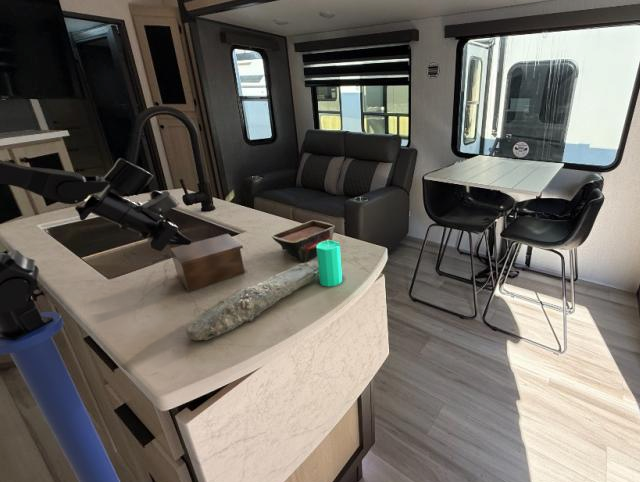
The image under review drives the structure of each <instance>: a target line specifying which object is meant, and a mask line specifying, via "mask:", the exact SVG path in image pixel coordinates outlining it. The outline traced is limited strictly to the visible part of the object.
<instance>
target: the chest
mask: <svg viewBox="0 0 640 482" xmlns="http://www.w3.org/2000/svg"><path fill="white" fill-rule="evenodd" d="M170 254H171V257H172V261H173V264H174V268H175V273H176V275H177V277H178V279H179V280H180V281H181V283H182V284H183V285H184V287H185V288H186V291H188V292H189V293H190V292H193V291H195V290H199V289H201V288H204V287H207V286H210V285H212V284H216V283H218V282H221V281H224V280H228V279H231V278H232V277H236V276H239V275H241V274H245V267H244V261H243V257H242V252H241V249H238V250H234V251H231V252H228V253H224V254H221V255H217V256H214V257H210V258H207V259H204V260H200V261H197V262H193V263H190V264H186V265H183V266H182V265H181V264H180V263H179V261H178V260H177V259H176V257H175V256H174V255H173V253H172V252H171V251H170Z"/></svg>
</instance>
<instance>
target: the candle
mask: <svg viewBox="0 0 640 482" xmlns="http://www.w3.org/2000/svg"><path fill="white" fill-rule="evenodd" d="M340 245H341V244H340V242H339V241H335V240H333V239H332V240H328V239H327V241H323V242H320V243H319V244H318V245H317V246H316V249H317V257H316V258H317V261H318V269H319V276H318V279H319V284H320V285H321V286H322V287H329V288H330V287H335V286H338V285H341V283H342V281H343V273H342V271H343V270H342V258H341V257H342V256H341V246H340Z"/></svg>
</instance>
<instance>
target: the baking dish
mask: <svg viewBox="0 0 640 482" xmlns="http://www.w3.org/2000/svg"><path fill="white" fill-rule="evenodd" d="M335 230H336V225H334V224H332V223H329V222H325V221H321V220H315V219H314V220H309V221H307V222H304V223H301V224H299V225H296V226H293V227H291V228H288V229H285V230H283V231H280V232H277V233H274V234H272V235H271V238H272V239H273V240H274V242H276V243H277V244H278V245H280V246H281V249H282V251H286V252H287V253H289V254H290V255H291V256H292V257H293V258H294V259H295V260H297V261H298V262H300V263H306V262H310V261H312V260H313V259H315V258H317V249H316V246H317V245H318V244H319V243H320V242H323V241H327V239H328V240H332V241H333V236H334V232H335Z"/></svg>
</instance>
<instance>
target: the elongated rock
mask: <svg viewBox="0 0 640 482" xmlns="http://www.w3.org/2000/svg"><path fill="white" fill-rule="evenodd" d="M317 277H319V269H318V260H309V261H307V262H305V263H302V262H300V263H297V264H295V265H294V266H292V267H290V268H288V269H286V270H284V271H281V272H279V273H277V274H276V275H274V276H272V277H270V278H267V279H265V280H264V281H261V282H260V283H256V284H254V285H253V286H252V285H251V286H249V287H245V288H243V289H242V288H241V289H239V290H237V291H236V292H234V293H233V294H231V295H230V296H228V297H227V298H224V299H222V300H220V301H218V303H217V304H215V305H214V306H212V307H210V308H208V309H207V310H205V311H204V312H203V313H202V314H200V315H198V316H197V317H196V318H194V319H193V320H191V321H190V322H189V323H188V325H187V327H186V330H185V331H186V335H187V336H188V338H189V339H190V340H192V341H208V340H209V339H212V338H216V337H219V336H221V335H222V334H224V333H227V332H229V331H232V330H234V329H235V328H237V327H238V326H239V327H240V326H241V325H242V324H243V323H245V322H253V320H254V319H255V317H258V316H259V315H260V314H261V313H262V312H264V311H266V310H267V309H269V308H270V307H272V306H274V305H275V304H276V303H278V301H279V300H281V299H282V298H283V299H284V298H285V297H287V296H290V295H292V293H293V292H295V291H297V290H298V289H300V288H301V287H303V286H306V285H307V284H309V283H311V282H312V281H314V280H315V279H316V278H317Z"/></svg>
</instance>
